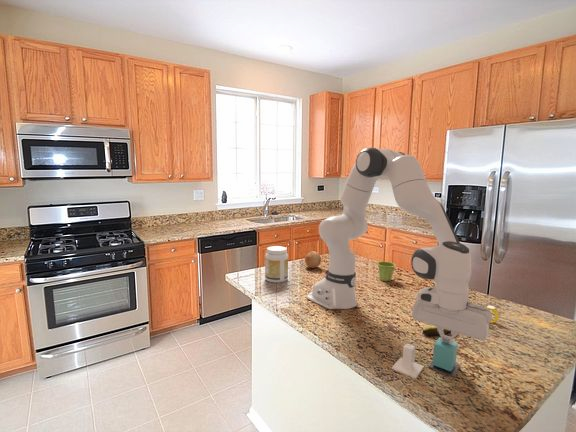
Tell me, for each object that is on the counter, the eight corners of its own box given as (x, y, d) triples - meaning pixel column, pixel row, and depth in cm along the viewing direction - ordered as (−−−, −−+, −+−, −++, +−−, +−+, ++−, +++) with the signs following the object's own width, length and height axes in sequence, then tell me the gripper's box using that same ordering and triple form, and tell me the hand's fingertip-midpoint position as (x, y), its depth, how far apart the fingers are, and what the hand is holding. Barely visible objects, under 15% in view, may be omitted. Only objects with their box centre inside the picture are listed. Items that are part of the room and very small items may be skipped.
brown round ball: (316, 271, 186) (316, 254, 184) (301, 268, 191) (301, 251, 190) (323, 267, 194) (324, 251, 192) (309, 264, 199) (310, 248, 198)
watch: (498, 324, 125) (501, 310, 124) (493, 325, 125) (495, 311, 123) (485, 316, 131) (487, 303, 130) (479, 317, 130) (482, 304, 129)
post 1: (391, 368, 95) (393, 346, 94) (400, 358, 101) (402, 337, 100) (415, 379, 91) (417, 356, 90) (423, 367, 96) (425, 346, 95)
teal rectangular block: (432, 364, 96) (434, 343, 95) (437, 357, 100) (439, 337, 99) (451, 371, 93) (453, 350, 92) (455, 363, 97) (457, 343, 96)
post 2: (428, 367, 96) (430, 345, 95) (435, 357, 102) (437, 336, 101) (453, 377, 92) (456, 354, 91) (459, 366, 97) (462, 344, 96)
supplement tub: (280, 274, 179) (281, 244, 177) (292, 280, 169) (293, 249, 167) (261, 277, 173) (261, 246, 170) (271, 284, 163) (272, 252, 160)
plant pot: (396, 278, 175) (397, 263, 174) (391, 283, 167) (392, 267, 166) (379, 275, 180) (380, 260, 179) (374, 280, 172) (375, 264, 171)
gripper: (494, 305, 89) (488, 351, 91) (419, 286, 102) (415, 327, 104) (490, 312, 85) (484, 361, 87) (411, 292, 98) (408, 334, 100)
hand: (446, 342), depth 96 cm, fingers closed
